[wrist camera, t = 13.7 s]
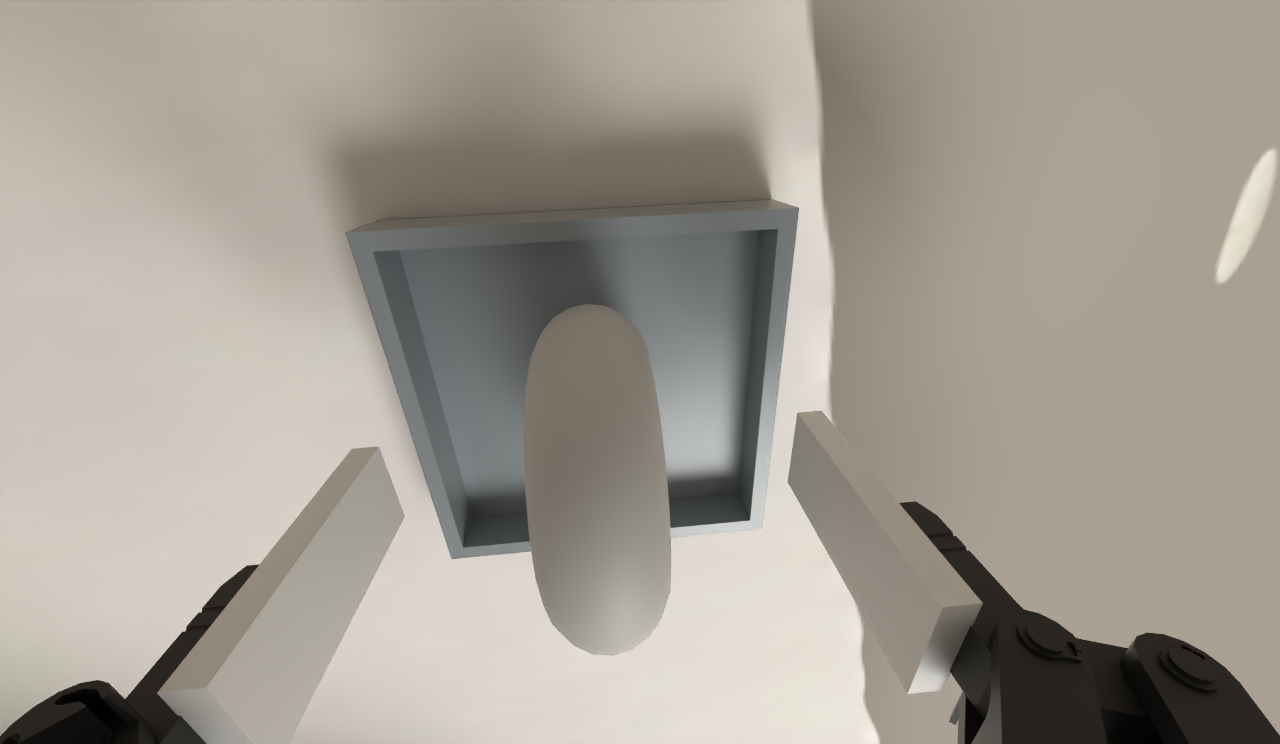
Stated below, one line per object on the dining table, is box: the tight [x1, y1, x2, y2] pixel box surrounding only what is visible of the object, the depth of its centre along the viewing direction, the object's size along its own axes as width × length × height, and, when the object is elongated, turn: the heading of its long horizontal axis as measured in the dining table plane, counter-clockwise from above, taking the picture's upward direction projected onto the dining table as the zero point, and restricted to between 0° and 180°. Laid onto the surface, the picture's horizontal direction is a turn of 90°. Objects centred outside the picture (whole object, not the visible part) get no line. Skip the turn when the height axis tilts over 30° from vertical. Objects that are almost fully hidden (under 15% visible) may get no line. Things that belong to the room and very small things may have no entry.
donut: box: [524, 304, 671, 656], centre depth 14 cm, size 10×4×10 cm, turn 2°
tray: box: [346, 199, 799, 559], centre depth 18 cm, size 14×14×2 cm
